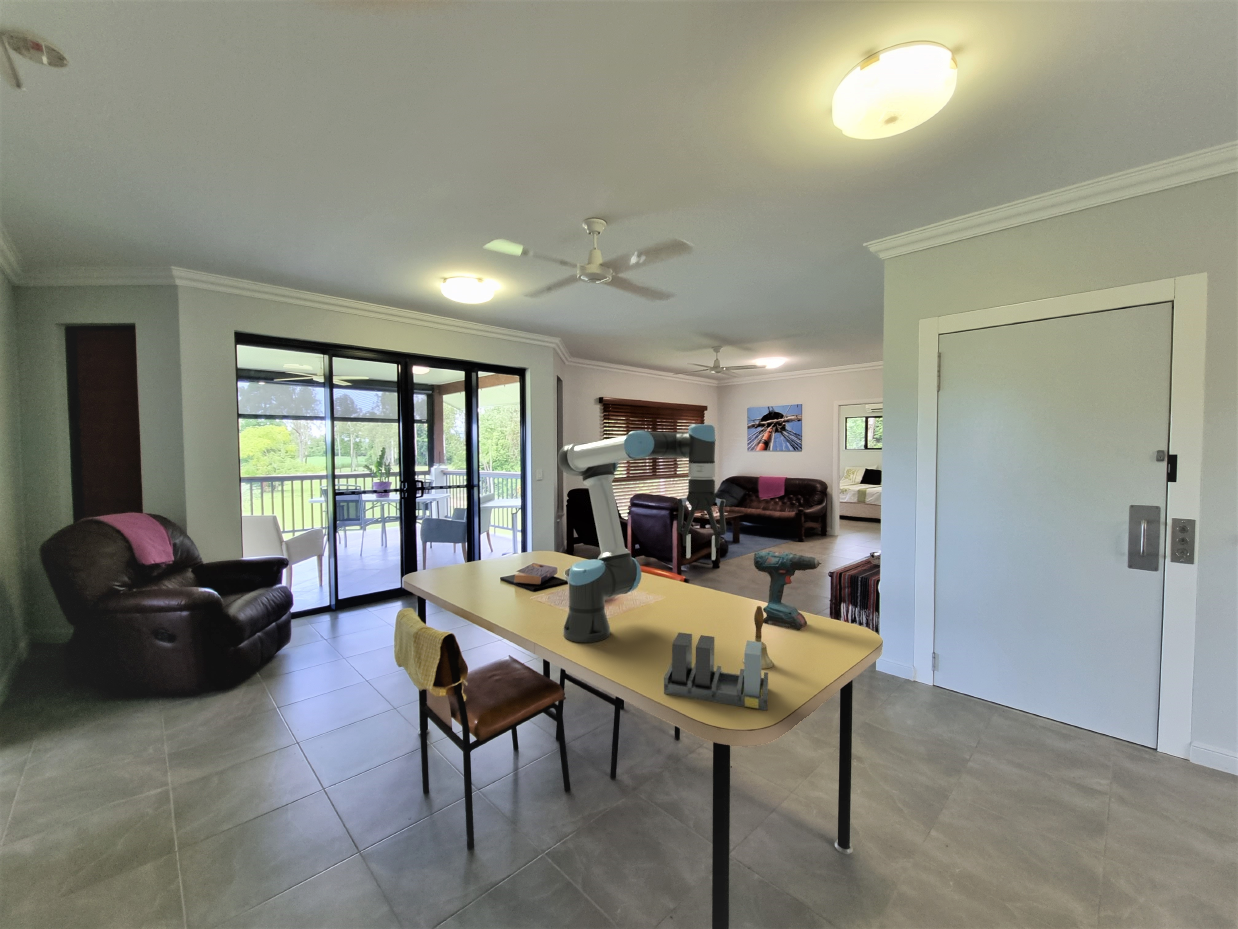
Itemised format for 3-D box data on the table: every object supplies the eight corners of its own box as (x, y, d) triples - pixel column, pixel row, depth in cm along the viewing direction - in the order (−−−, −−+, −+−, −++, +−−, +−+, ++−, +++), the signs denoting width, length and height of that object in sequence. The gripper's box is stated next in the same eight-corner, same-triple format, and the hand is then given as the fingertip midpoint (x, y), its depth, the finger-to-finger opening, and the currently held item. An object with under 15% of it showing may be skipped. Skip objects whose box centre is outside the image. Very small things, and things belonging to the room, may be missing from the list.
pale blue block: (743, 699, 113) (744, 652, 113) (746, 683, 121) (747, 640, 121) (759, 701, 112) (759, 654, 112) (761, 686, 120) (761, 642, 119)
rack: (663, 694, 117) (663, 646, 117) (673, 674, 128) (673, 629, 128) (766, 712, 110) (767, 659, 109) (768, 688, 121) (768, 641, 120)
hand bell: (750, 654, 142) (750, 600, 141) (777, 662, 136) (778, 606, 136) (737, 663, 135) (738, 607, 135) (766, 672, 130) (766, 613, 130)
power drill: (817, 635, 157) (818, 559, 156) (749, 620, 171) (750, 550, 170) (824, 627, 164) (825, 554, 163) (759, 613, 178) (759, 546, 177)
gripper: (665, 478, 138) (664, 558, 138) (735, 479, 131) (734, 563, 132) (671, 477, 145) (670, 553, 145) (737, 478, 139) (736, 557, 139)
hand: (701, 558), depth 138 cm, fingers open, 7 cm apart
